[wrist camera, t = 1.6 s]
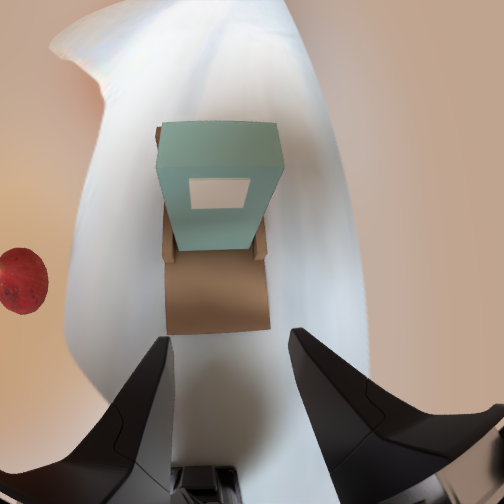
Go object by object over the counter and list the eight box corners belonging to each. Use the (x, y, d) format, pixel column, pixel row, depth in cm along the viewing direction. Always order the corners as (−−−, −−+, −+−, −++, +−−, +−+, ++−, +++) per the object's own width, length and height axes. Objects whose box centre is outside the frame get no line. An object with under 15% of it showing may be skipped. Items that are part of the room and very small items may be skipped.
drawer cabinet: (268, 329, 23) (302, 323, 15) (168, 334, 21) (144, 332, 13) (253, 187, 27) (272, 126, 19) (169, 189, 26) (156, 127, 17)
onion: (67, 310, 20) (18, 295, 13) (26, 324, 19) (-24, 313, 11) (58, 254, 22) (14, 222, 14) (19, 270, 20) (-27, 245, 13)
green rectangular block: (248, 250, 24) (285, 169, 12) (179, 252, 23) (155, 170, 11) (245, 217, 25) (276, 123, 13) (179, 219, 24) (162, 122, 12)
